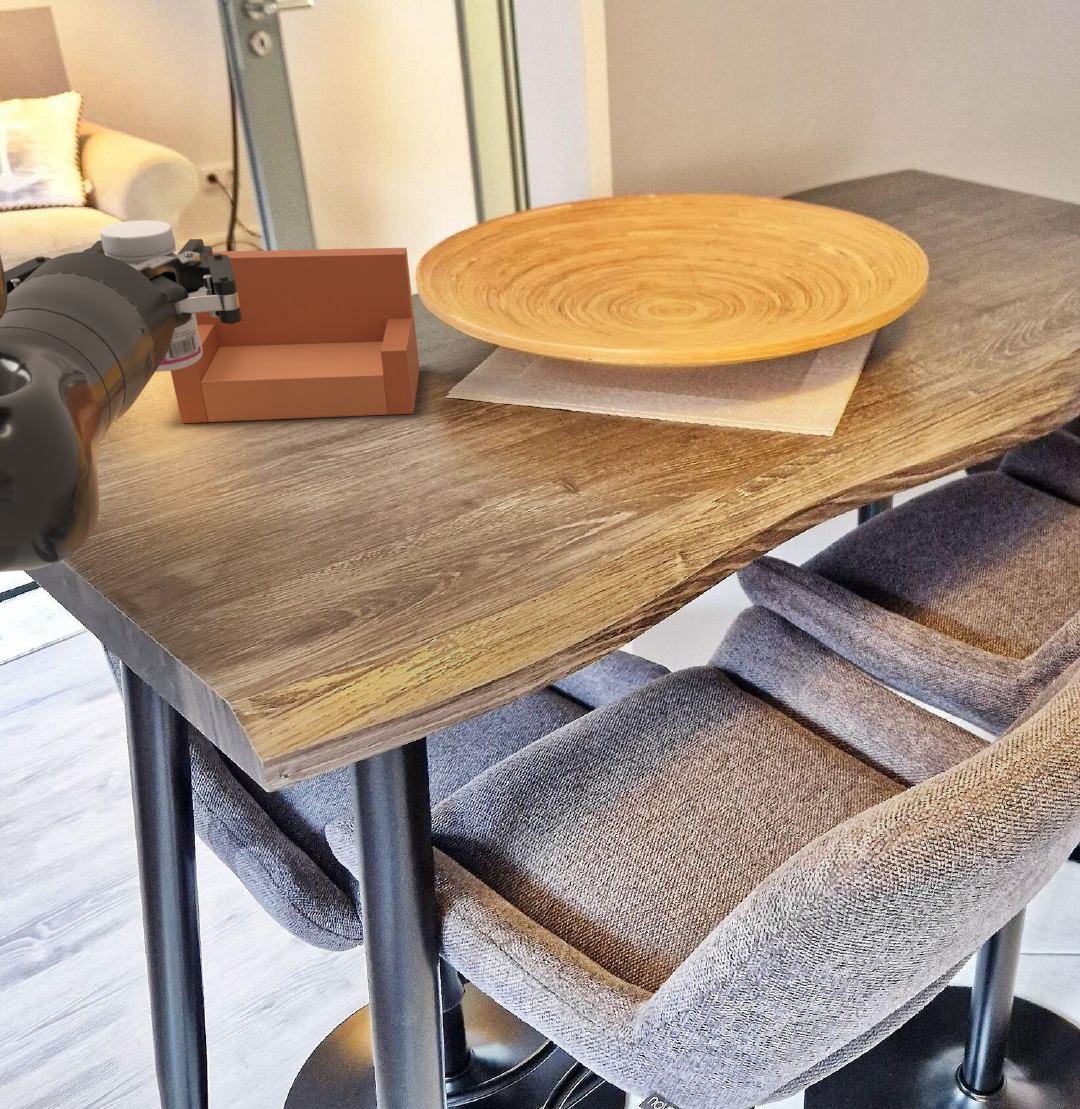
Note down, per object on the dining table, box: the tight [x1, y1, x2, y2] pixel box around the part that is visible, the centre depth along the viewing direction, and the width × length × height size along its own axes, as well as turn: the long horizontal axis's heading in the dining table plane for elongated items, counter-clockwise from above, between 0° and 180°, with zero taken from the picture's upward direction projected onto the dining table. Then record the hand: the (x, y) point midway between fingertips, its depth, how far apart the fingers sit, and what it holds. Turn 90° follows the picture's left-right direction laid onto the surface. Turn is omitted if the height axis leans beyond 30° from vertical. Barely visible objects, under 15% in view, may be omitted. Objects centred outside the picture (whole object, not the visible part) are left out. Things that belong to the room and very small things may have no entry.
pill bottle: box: [99, 219, 203, 373], centre depth 76 cm, size 5×5×8 cm
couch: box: [170, 247, 421, 424], centre depth 101 cm, size 18×10×11 cm, turn 100°
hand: (154, 255), depth 78 cm, fingers closed on pill bottle, 4 cm apart
